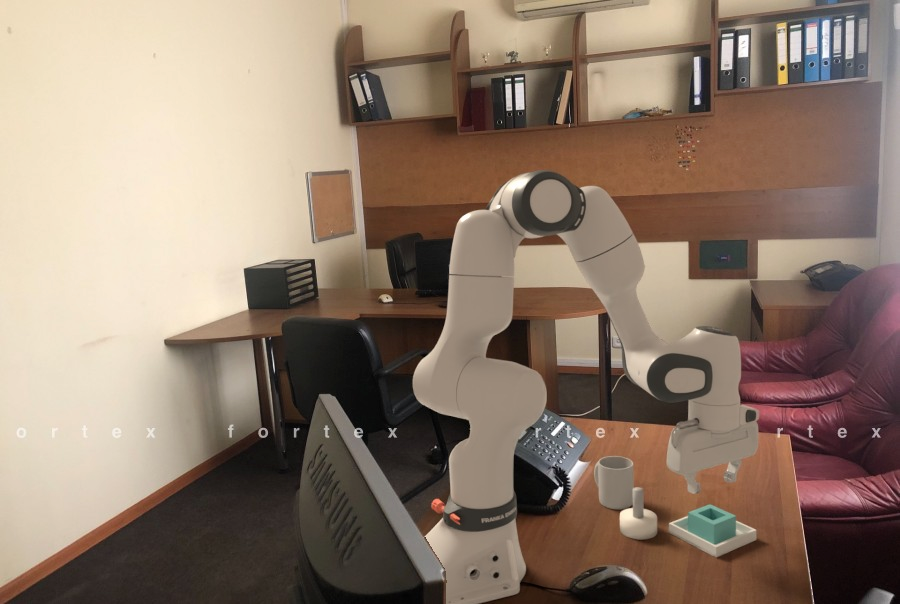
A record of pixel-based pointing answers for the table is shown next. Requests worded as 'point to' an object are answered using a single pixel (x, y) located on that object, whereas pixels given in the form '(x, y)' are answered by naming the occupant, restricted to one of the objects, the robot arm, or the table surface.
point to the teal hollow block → (712, 524)
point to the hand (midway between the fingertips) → (712, 486)
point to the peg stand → (638, 519)
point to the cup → (615, 482)
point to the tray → (742, 538)
